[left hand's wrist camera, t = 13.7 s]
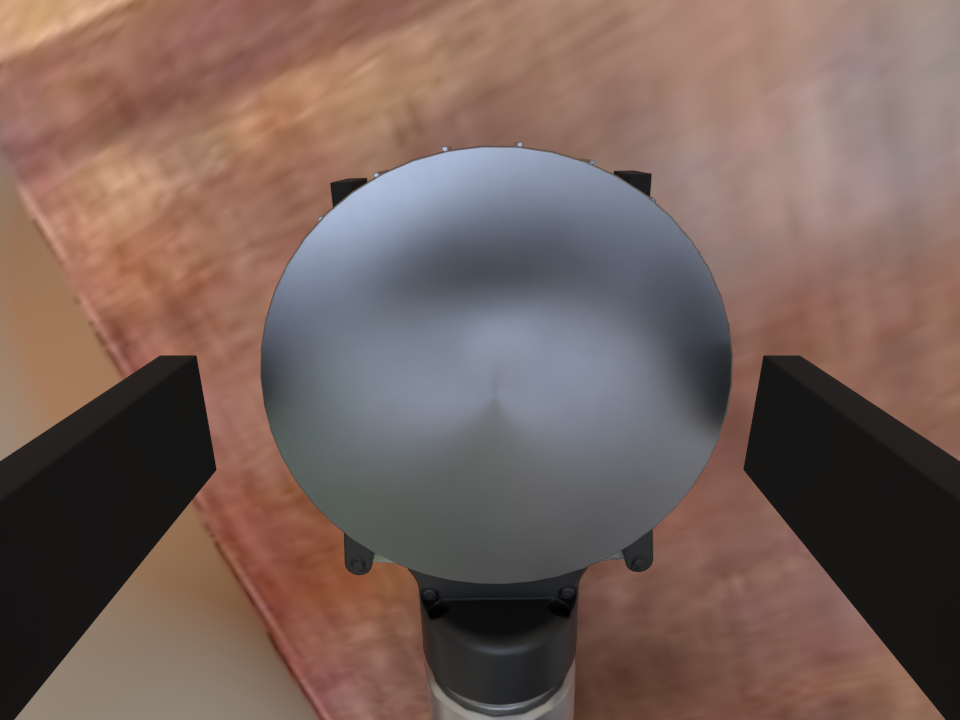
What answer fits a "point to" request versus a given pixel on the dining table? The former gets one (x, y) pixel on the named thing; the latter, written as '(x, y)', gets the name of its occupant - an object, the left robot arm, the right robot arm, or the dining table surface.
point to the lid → (496, 364)
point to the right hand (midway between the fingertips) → (489, 176)
